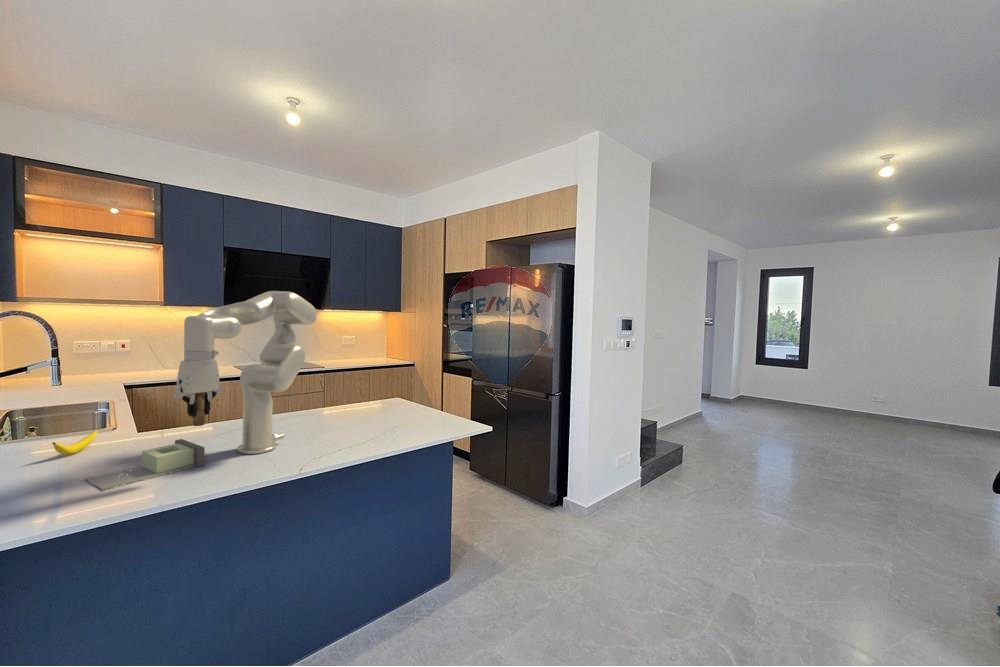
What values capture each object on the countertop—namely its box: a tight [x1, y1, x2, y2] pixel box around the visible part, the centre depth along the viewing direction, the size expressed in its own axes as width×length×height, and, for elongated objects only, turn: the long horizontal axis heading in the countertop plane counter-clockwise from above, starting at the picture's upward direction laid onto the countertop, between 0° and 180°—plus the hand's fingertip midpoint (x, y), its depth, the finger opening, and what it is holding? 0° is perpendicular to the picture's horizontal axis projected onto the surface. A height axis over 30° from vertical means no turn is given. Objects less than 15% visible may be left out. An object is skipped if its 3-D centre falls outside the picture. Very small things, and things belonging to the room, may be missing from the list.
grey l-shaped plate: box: [85, 438, 206, 491], centre depth 130 cm, size 25×15×6 cm, turn 151°
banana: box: [51, 430, 99, 456], centre depth 143 cm, size 3×19×6 cm, turn 11°
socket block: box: [141, 443, 194, 473], centre depth 135 cm, size 10×10×5 cm
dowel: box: [192, 392, 206, 427], centre depth 129 cm, size 3×3×10 cm
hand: (198, 414), depth 129 cm, fingers closed on dowel, 3 cm apart
